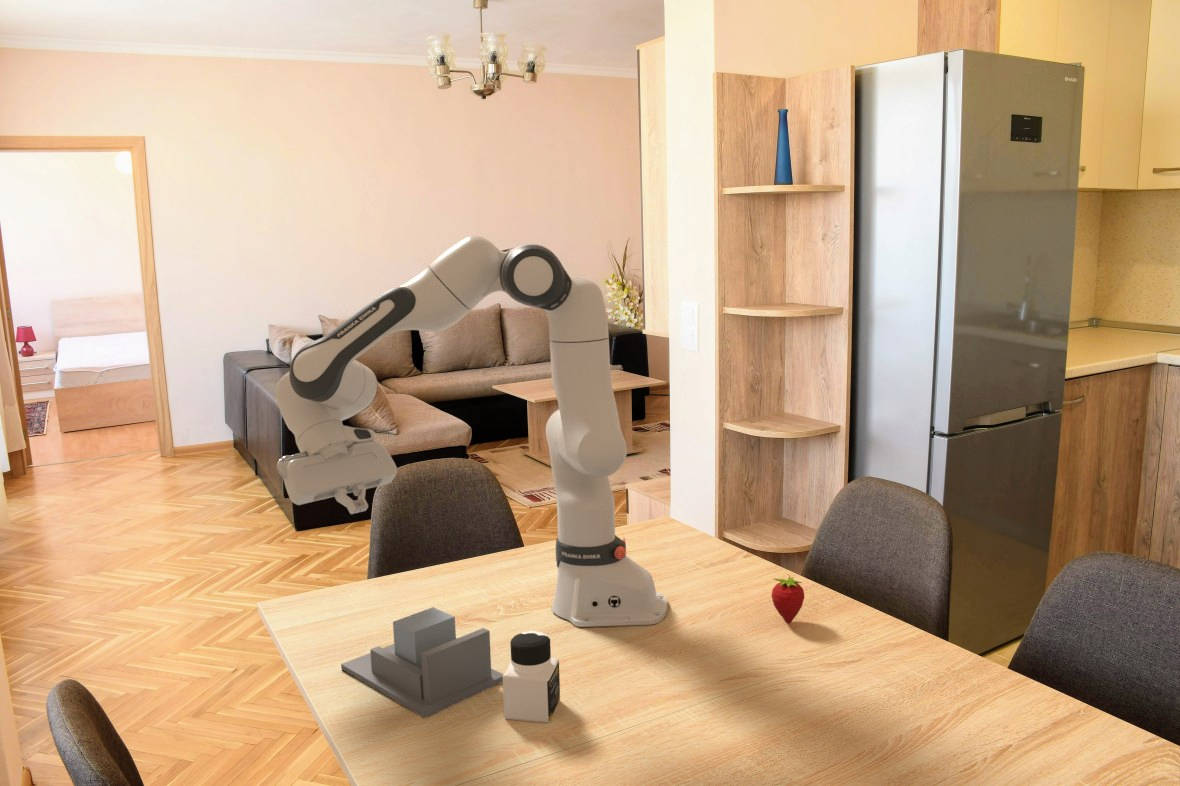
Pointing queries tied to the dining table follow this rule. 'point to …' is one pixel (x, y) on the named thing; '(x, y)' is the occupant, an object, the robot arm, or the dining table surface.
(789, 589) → the strawberry
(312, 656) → the dining table surface
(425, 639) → the key block
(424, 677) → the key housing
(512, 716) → the medicine bottle
